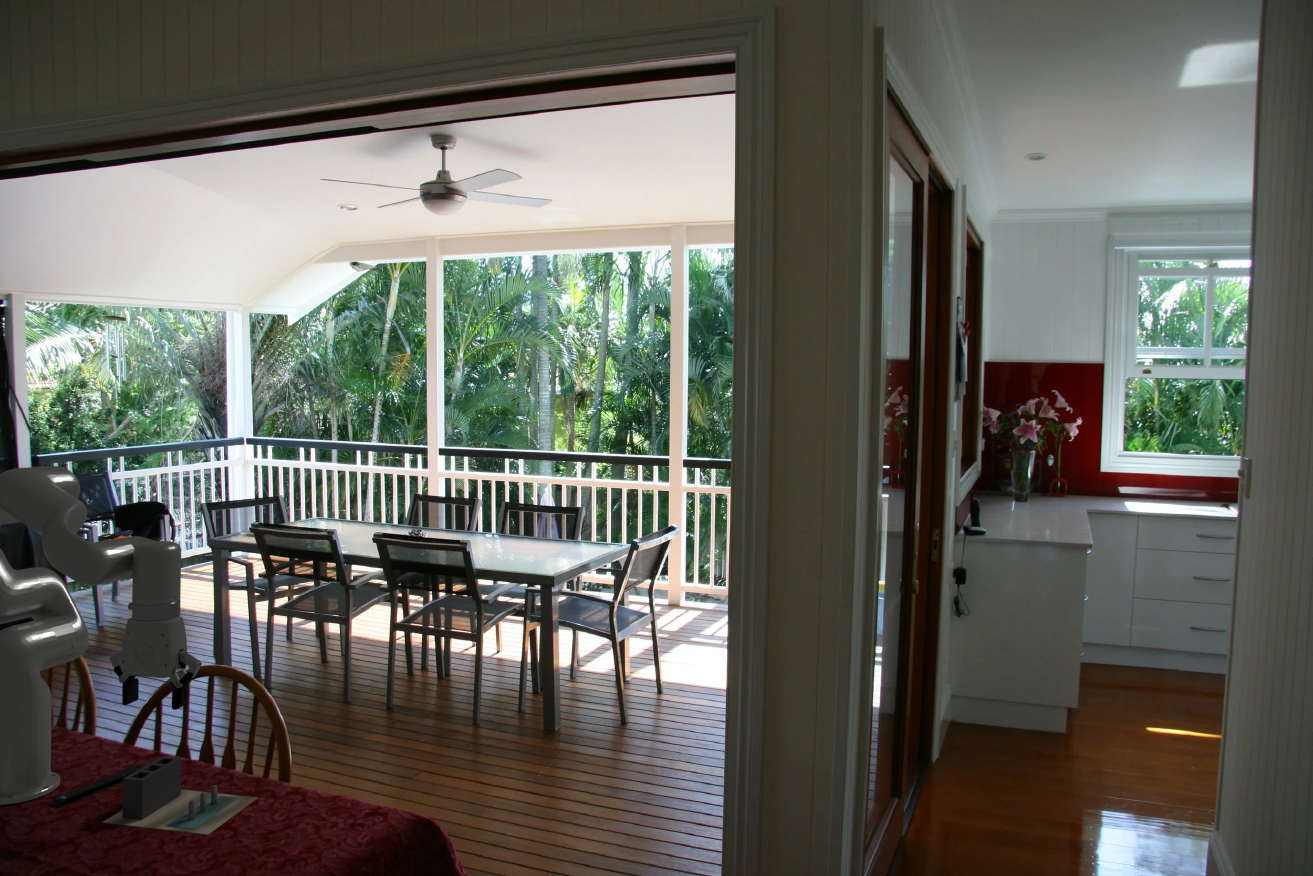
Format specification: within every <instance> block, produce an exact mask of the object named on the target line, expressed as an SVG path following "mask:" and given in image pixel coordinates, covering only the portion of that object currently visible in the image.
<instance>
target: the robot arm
mask: <svg viewBox="0 0 1313 876" xmlns="http://www.w3.org/2000/svg"><path fill="white" fill-rule="evenodd" d="M80 494H81V485H80V481H79V479H78V477H77V476H76V475H75V474H74V473H73V472H72V471H71V470H69V469H68V468H65V467H64V466H59V465H46V466H31V467H28V466H27V467H17V468H12V469H8V470H6V471H4V472H1V473H0V526H2V525H10V524H17V523H22V524H23V525H25V526H27V527H28V528H29V529H31V530H33V531H34V532H35V533H36V534H38V535H40V536H41V544H42V546H41V547H42V549H43V553H44V555H45V557H46V559H47V561H48V563H49V564H50V565H51V566H52V567H53V568H54V569H55V570H57V571H58V572H60V573H61V574H63V575H65V576H66V577H67V578H69V579H70V580H73V581H74V582H75V583H78V584H81V585H84V586H89V587H90V586H91V587H94V586H95V587H96V586H100V585H105V584H109V583H114V582H118V581H124V580H128V579H132V584H131V587H132V588H131V589H132V590H131V592H132V593H131V602H129V603H128V604H127V609H128V610H129V611H131V617H130V618H127V621H126V624H125V627H124V631H123V637H122V643H121V644H122V645H121V650H120V651H118V652H117V653H114V654H113V655H111V656H109V661H110V663H111V665H112V667H113V672H114V674H115V675H116V676H117V677H118V682H119V683H120V684H122V690H121V691H122V692H121V693H122V694H121V697H122V701H121V703H122V705H123V706H128V705H130V704H132V703H134V702H136V701H138V700H139V697H140V695H139V687H140V686H139V685H140V684H139V683H140V681H139V677H142V678H143V677H144V678H146V677H147V678H155V679H166V678H169V679H170V680H171V683H173V685H174V686H173V687H172V689H171V709H172V711H173V710H175V711H177V710H179V709H181V708H183V707H184V706H187V704H188V697H189V684H191V682H192V681H193V680H195V679H194V678H196V677H197V676H198V673H199V671H200V669H201V668H202V664H203V663H202V661H201V660H199V659H198V658H196V657H194V656H193V655H191V654H190V653H189V652H188V643H187V641H188V639H187V634H186V633H187V632H186V625H185V621H184V617H182V616H181V589H182V588H181V587H182V585H181V584H182V548H181V545H180V544H179V543H177V542H176V541H170V540H153V539H151V538H147V537H144V536H137V535H136V536H135V535H134V536H133V535H132V536H126V537H120V538H114V539H106V540H100V541H94V542H91V541H89V540H86V539H85V538H83V537H82V536H80V535H78V534H77V533H78V532H79V531H80V529H82V527H84V525H85V523H86V520H87V518H88V517H87V516H88V510H87V509H88V508H87V505H86V504H85V503H83V501H81V500H80V499H79V496H80ZM5 555H6V554H5V553H4V551H3V550H2V549H1V548H0V625H3V624H7V623H12V622H16V621H20V620H25V619H28V618H31V619H32V621H27V622H24V623H20V624H15V625H11V626H9V627H8V626H7V627H5V628H2V629H1V630H0V806H3V805H13V804H19V803H25V802H27V801H28V802H29V801H31V800H35V799H39V798H41V797H43V796H45V795H47V794H49V793H51V792H53V791H54V790H56V789H57V788H58V787H59V786H60V784H61V776H60V774H59V773H57V772H55V771H52V770H51V768H52V767H51V761H52V759H51V758H52V757H51V756H52V755H51V754H52V753H51V752H52V750H51V749H52V747H51V746H52V693H51V689H50V687H49V686H48V684H47V683H46V681H45V680H44V679H43V678H42V675H41V671H44V670H47V669H50V668H54V667H57V666H59V665H64V664H66V663H70V662H72V661H74V660H77V659H78V658H79V657H81V656H82V655H83V654H84V653H85V651H86V650H87V648H88V646H89V639H90V637H89V631H88V628H87V625H86V622H85V620H84V618H83V617H82V614H81V613H80V610H79V608H78V606H77V605H76V602H75V600H74V598H73V597H72V594H71V593H70V591H69V589H68V586H67V585H66V583H65V582H64V580H63V579H62V577H61V576H60V575H59V574H57V573H56V572H55V571H54V570H52V569H50V568H46V567H42V566H41V567H35V566H34V567H29V568H23V569H14V568H13V567H12V565H10V563H9V561H8V559H7V558H6V556H5ZM187 666H188V670H186V668H187Z"/></svg>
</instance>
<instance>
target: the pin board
mask: <svg viewBox="0 0 1313 876" xmlns="http://www.w3.org/2000/svg"><path fill="white" fill-rule="evenodd" d="M257 799H258V797H255V796H248V795H247V796H245V795H238V794H237V795H236V794H226V793H219V792H218V786H217V785H216V784H214V785H213V784H212V786H211V789H210V792H208V791H200V790H198V791H197V790H189V789H182V788H181V795H180V796H179V797H177V798H176V799H174V800H172V801H171V802H169V803H168V804H166V805H165V806H163V807H162V808H160V809H158V810H157V811H155V812H154V813H152V814H151V815H149V816H148V817H146V818H144V819H143V820H137V819H128V818H122V813H123V809H121V810H119V812H117V813H115V814H114V815H112V816H111V817H110V816H109V818H107V819H105V820H103V821H102V824H103V823H104V824H111V825H112V824H113V825H122V826H128V827H138V828H139V827H140V828H146V829H157V830H164V831H165V830H166V831H173V832H182V833H189V834H199V835H210V834H211V833H213V832H214V831H215V830H216V829H218V828H219V827H220V826H222V825H223V824H224V823H226V822H227V821H228V820H230V819H231V818H233V817H234V816H235V815H237V814H238V813H240V812H241V811H242V810H243V809H245V808H246V807H248V805H250V804H251V803H253V802H254V801H256V800H257Z"/></svg>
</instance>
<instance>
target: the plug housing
mask: <svg viewBox="0 0 1313 876" xmlns="http://www.w3.org/2000/svg"><path fill="white" fill-rule="evenodd" d="M181 789H182V757H174V756H164V755H163V756H160V757H159V758H157V759H156V760H153V761H152V762H150V763H148V764H146V765H144V767H143V768H141V769H139V770H137V771H136V772H134V773H132V774H130V775H128V776H127V777H125V778H123V782H122V810H123V813H122V818H128V819H137V820H143V819H144V818H146V817H148V816H149V815H151V814H152V813H154V812H155V811H157V810H158V809H160V808H162V807H163V806H165V805H166V804H168V803H169V802H171V801H172V800H174V799H176V798H177V797H179V796H180V795H181Z"/></svg>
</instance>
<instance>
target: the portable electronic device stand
mask: <svg viewBox="0 0 1313 876" xmlns="http://www.w3.org/2000/svg"><path fill="white" fill-rule="evenodd" d="M144 766H145V765H143V764H140V763H139V764H135V765H134V766H133V765H132V766H131V767H128V768H125V769H122V770H120V771H118V772H114V773H112V774H110V775H108V776H105V777H101V778H100V779H97V780H96V781H93V782H90V783H87V784H84V785H82V786H80V787H78V788H75V789H72V790H69V791H68V792H65V793H63V794H60V795H58V796H56V797H55V798H53V800H52V801H51V806H52V807H56V809H59V808H64V807H66V806H68V805H70V804H71V803H73V802H78V801H81V800H83V799H86V798H88V797H90V796H93V795H95V794H97V793H100V792H102V791H104V790H105V791H106V790H108V789H109V788H111V787H115V786H118V785H119V784H121V783H122V784H123V778H125V777H127V776H128V775H130V774H132V773H134V772H136V771H137V770H139V769H141V768H143V767H144Z"/></svg>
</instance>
